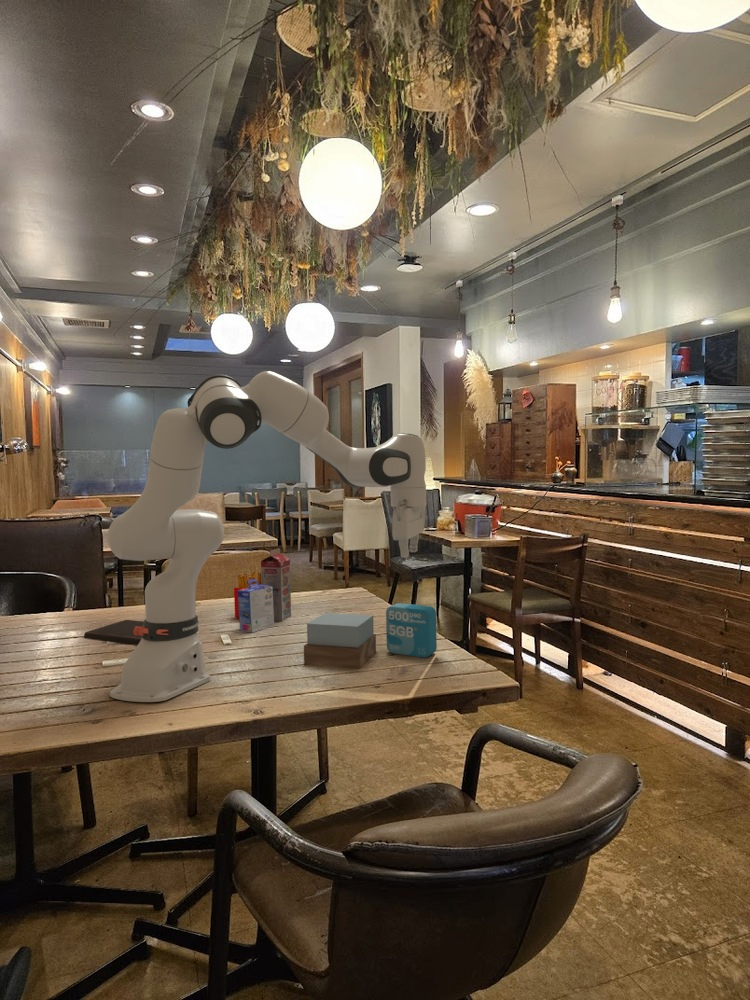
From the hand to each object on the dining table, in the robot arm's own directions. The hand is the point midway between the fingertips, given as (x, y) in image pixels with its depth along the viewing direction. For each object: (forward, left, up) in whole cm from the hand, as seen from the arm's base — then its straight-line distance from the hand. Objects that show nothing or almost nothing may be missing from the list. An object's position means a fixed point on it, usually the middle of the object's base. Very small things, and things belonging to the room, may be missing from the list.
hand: (409, 554), depth 162 cm
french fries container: (+27, +57, -25) cm, 68 cm away
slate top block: (-7, +16, -20) cm, 27 cm away
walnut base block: (-7, +16, -26) cm, 31 cm away
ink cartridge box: (+15, +50, -25) cm, 58 cm away
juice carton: (+27, +49, -25) cm, 61 cm away
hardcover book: (+1, +81, -26) cm, 85 cm away
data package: (0, 0, -25) cm, 25 cm away
